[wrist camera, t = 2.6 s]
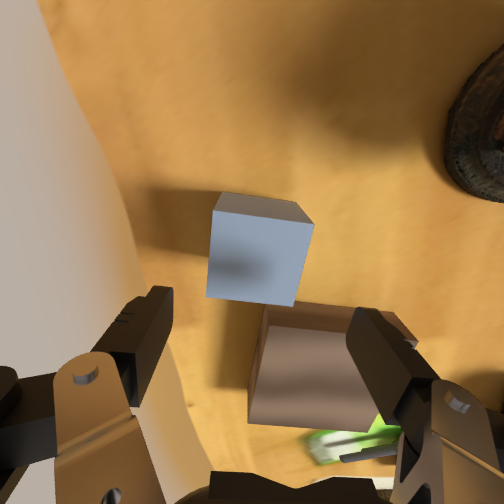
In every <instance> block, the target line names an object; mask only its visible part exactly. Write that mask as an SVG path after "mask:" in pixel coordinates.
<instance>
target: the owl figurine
mask: <svg viewBox="0 0 504 504" xmlns="http://www.w3.org/2000/svg"><path fill="white" fill-rule="evenodd" d="M501 46H502V45H501ZM466 82H467V83H465V85H464V86H463V91H462V92H461V94H460V96H459V98H458V99H457V100H456V101H455V102H454V105H453V107H452V108H451V109H450V110H449V113H450V117H449V119H448V125H447V131H446V141H445V143H446V148H445V158H444V162H445V164H446V169H447V171H448V173H449V174H450V176H451V177H452V178H453V180H454V181H455V182H456V183H457V184H458V185H459V186H460V187H461V188H462V189H464V190H465V191H467V192H468V194H469V193H471V194H473V195H474V196H477V197H480V198H482V199H486V200H490V201H493V202H498V203H504V45H503V46H502V47H501V48H500V49H499V50H498V51H496V52H494V53H493V54H491V56H490V57H489V59H488V60H486V61H485V62H484V63H482V64H481V65H480V66H479V67H478V68H477V70H476V71H475V72H474V73H473V75H471V76H470V77H469V78H468V80H467V81H466Z"/></svg>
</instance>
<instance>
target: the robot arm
mask: <svg viewBox="0 0 504 504" xmlns="http://www.w3.org/2000/svg"><path fill="white" fill-rule="evenodd" d="M172 324H173V288H172V287H165V286H155V285H154V286H153V287H152V288H151V290H150V291H149V293H148V294H147V296H146V297H142V296H138V297H136V298H135V299H133V300H132V301H130V302H129V303H127V304H126V306H125V307H124V308H123V310H122V311H121V312H120V314H119V315H118V316H117V317H116V319H115V321H114V322H113V323H112V324H111V325H110V327H109V328H108V329H107V330H106V332H105V333H104V334H103V336H102V337H101V338H100V339H99V341H98V342H97V343H96V345H95V346H94V347H93V349H92V350H91V351H90V352H89V353H85V354H82V355H79V356H77V357H75V358H73V359H71V360H70V361H68V362H67V363H66V364H64V365H63V366H62V367H61V368H60V369H59V370H58V372H54V373H50V374H45V375H39V376H34V377H27V378H22V379H18V376H17V373H16V371H15V370H14V369H13V368H11V367H7V366H0V504H5V503H6V501H7V500H8V498H9V497H10V495H11V493H12V492H13V490H14V489H15V487H16V485H17V484H18V482H19V481H20V479H21V478H22V476H23V474H24V473H25V471H26V470H27V468H28V466H29V465H30V464H32V463H35V462H39V461H42V460H45V459H49V458H52V457H55V460H54V476H55V495H56V504H166V501H165V498H164V496H163V492H162V490H161V487H160V484H159V481H158V478H157V475H156V472H155V469H154V466H153V463H152V460H151V457H150V454H149V451H148V449H147V445H146V442H145V439H144V436H143V433H142V430H141V427H140V425H139V422H138V420H137V417H136V416H135V415H132V413H131V410H130V407H140V404H141V402H142V400H143V397H144V395H145V392H146V390H147V387H148V385H149V383H150V380H151V378H152V375H153V373H154V370H155V368H156V365H157V363H158V361H159V358H160V356H161V353H162V351H163V349H164V346H165V344H166V341H167V339H168V337H169V334H170V332H171V328H172ZM346 347H347V349H348V351H349V353H350V355H351V357H352V359H353V361H354V363H355V365H356V367H357V369H358V371H359V373H360V375H361V377H362V379H363V381H364V383H365V385H366V387H367V389H368V391H369V393H370V395H371V397H372V399H373V401H374V403H375V405H376V407H377V409H378V411H379V412H380V414H381V416H382V418H383V420H384V422H385V424H386V425H396V426H401V428H402V430H403V432H402V434H401V435H400V438H399V446H398V454H397V462H396V470H395V478H394V486H393V491H392V495H391V498H390V500H389V501H388V500H386V499H384V498H382V497H380V496H378V494H377V491H376V488H375V486H374V483H373V480H372V479H370V478H349V477H332V478H329V479H326V480H323V481H320V482H317V483H313V484H310V485H307V486H304V487H301V488H297V489H295V488H290V487H288V486H285V485H283V484H280V483H277V482H275V481H272V480H269V479H267V478H264V477H262V476H259V475H256V474H254V473H244V472H223V471H211V475H210V484H209V486H206V487H202V488H199V489H197V490H195V491H193V492H191V493H189V494H187V495H186V496H185V497H183V498H181V499H180V500H178V501H177V502H176V503H175V504H504V414H501V413H498V412H495V411H493V410H490V409H487V408H484V406H483V405H482V404H481V403H480V401H479V400H478V399H477V398H476V397H475V396H473V395H472V394H471V393H470V392H468V391H467V390H466V389H464V388H462V387H461V386H459V385H457V384H455V383H453V382H450V381H447V380H442V379H441V378H440V377H439V376H438V375H437V374H436V372H435V371H434V370H433V369H432V368H431V367H430V365H429V364H428V363H427V362H426V361H425V359H424V358H423V357H422V356H421V355H420V354H419V352H418V351H417V350H415V348H414V346H413V345H412V344H411V343H410V342H408V339H407V338H406V337H405V336H404V335H403V333H402V332H401V331H400V330H399V329H398V328H396V327H395V326H394V325H392V324H391V323H390V322H388V321H387V320H386V319H385V318H384V317H383V315H382V314H381V313H380V312H379V311H378V310H377V309H375V308H365V307H357V308H356V309H355V311H354V314H353V317H352V320H351V322H350V325H349V328H348V330H347V333H346Z"/></svg>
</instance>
